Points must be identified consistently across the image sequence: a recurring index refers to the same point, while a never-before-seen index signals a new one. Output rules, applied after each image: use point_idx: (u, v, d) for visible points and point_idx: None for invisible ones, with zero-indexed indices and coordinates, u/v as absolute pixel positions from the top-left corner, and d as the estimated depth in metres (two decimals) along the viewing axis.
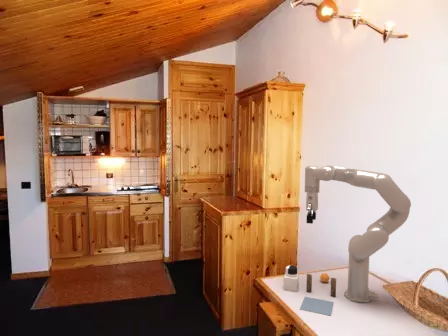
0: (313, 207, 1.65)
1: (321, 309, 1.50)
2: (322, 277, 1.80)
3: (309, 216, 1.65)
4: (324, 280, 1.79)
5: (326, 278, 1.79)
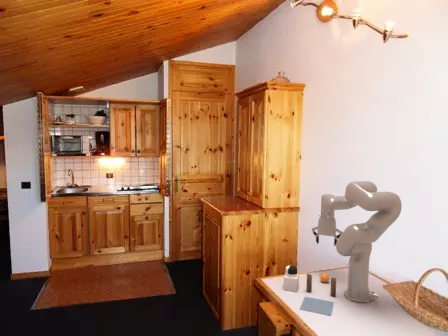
0: None
1: (321, 309, 1.50)
2: (322, 277, 1.80)
3: None
4: (324, 280, 1.79)
5: (326, 278, 1.79)
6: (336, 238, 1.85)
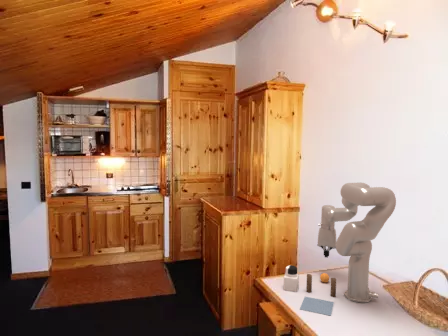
0: None
1: (321, 309, 1.50)
2: (322, 277, 1.80)
3: None
4: (324, 280, 1.79)
5: (326, 278, 1.79)
6: (328, 250, 1.88)
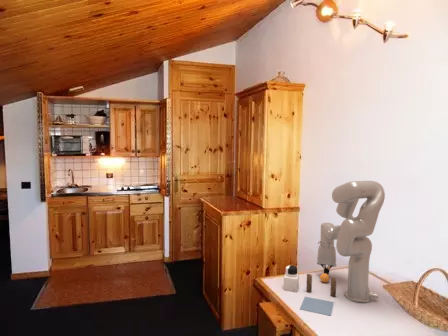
0: (317, 258, 1.88)
1: (321, 309, 1.50)
2: (322, 277, 1.80)
3: None
4: (324, 280, 1.79)
5: (326, 278, 1.79)
6: (328, 268, 1.86)
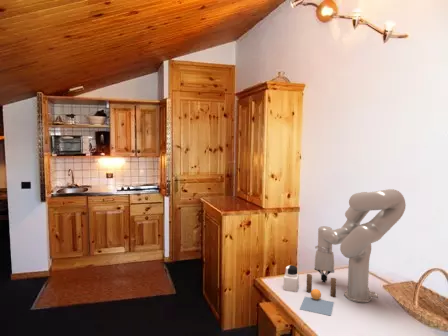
0: None
1: (321, 309, 1.50)
2: None
3: None
4: None
5: None
6: (326, 274, 1.77)
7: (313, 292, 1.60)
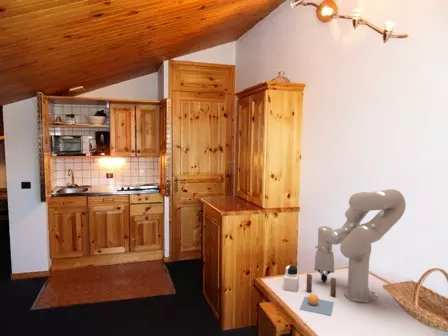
0: None
1: (321, 309, 1.50)
2: (311, 294, 1.55)
3: None
4: (313, 297, 1.54)
5: (315, 296, 1.54)
6: (326, 274, 1.77)
7: None
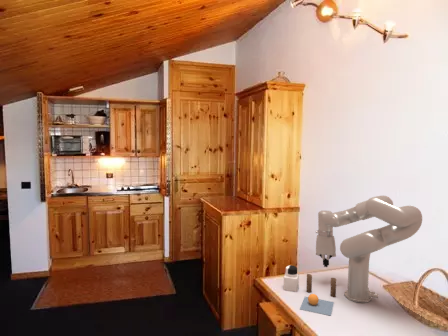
0: None
1: (321, 309, 1.50)
2: (311, 294, 1.55)
3: None
4: (313, 297, 1.54)
5: (315, 296, 1.54)
6: (327, 259, 1.76)
7: None
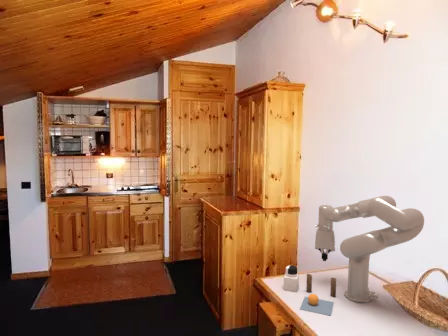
0: (315, 243, 1.78)
1: (321, 309, 1.50)
2: (311, 294, 1.55)
3: None
4: (313, 297, 1.54)
5: (315, 296, 1.54)
6: (326, 253, 1.76)
7: None
